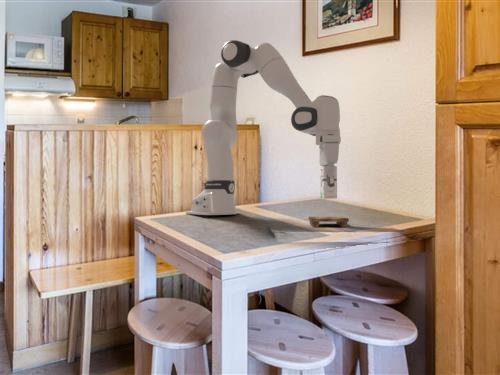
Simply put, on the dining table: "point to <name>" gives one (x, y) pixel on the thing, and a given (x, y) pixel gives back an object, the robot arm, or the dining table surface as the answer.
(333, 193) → the ink box
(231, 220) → the dining table surface
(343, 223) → the stand
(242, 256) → the dining table surface
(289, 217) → the dining table surface
